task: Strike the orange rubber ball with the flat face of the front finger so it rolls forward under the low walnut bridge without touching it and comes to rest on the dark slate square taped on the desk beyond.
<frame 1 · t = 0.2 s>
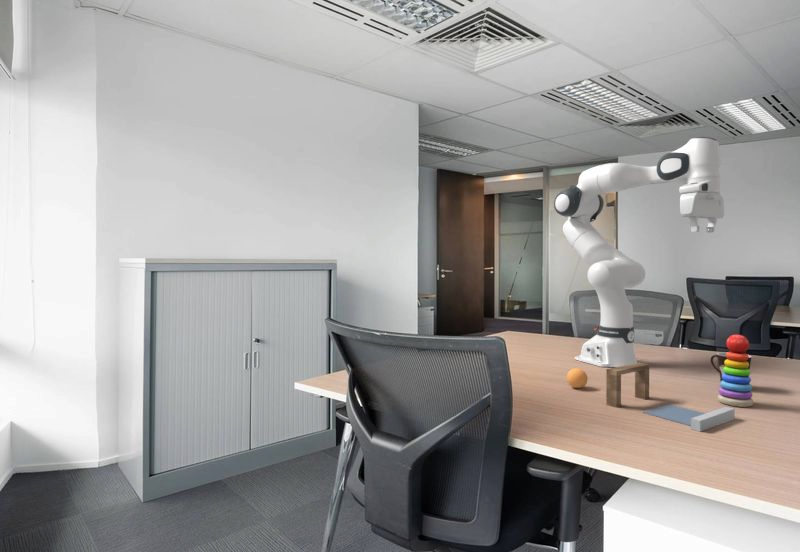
hand: (702, 232, 153), 48 cm above the table, tool pointing down, fingers open, 8 cm apart
coffee mug: (731, 387, 148), on the table
stopper wall: (713, 423, 115), on the table
stacking toy: (735, 404, 131), on the table
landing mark: (679, 414, 122), on the table
bridge: (628, 401, 134), on the table
ball: (577, 378, 148), on the table
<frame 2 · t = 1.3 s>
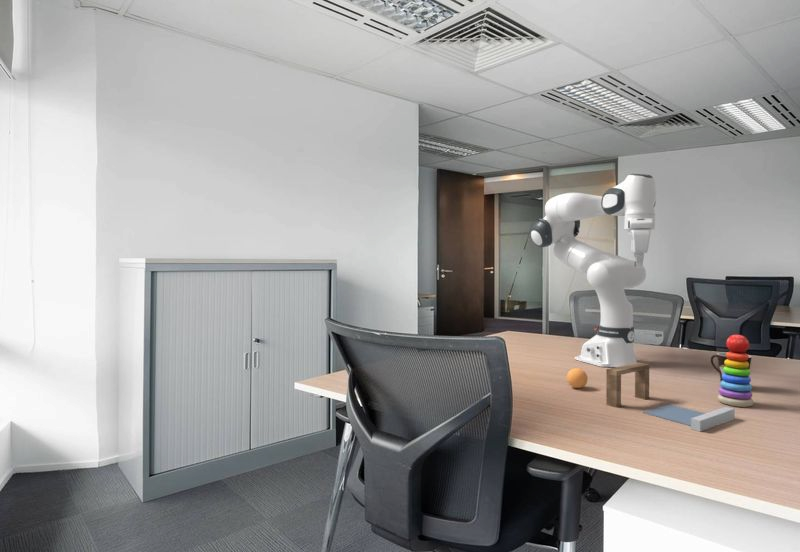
hand: (638, 267, 156), 37 cm above the table, tool pointing down, fingers open, 8 cm apart
nothing on the table moved.
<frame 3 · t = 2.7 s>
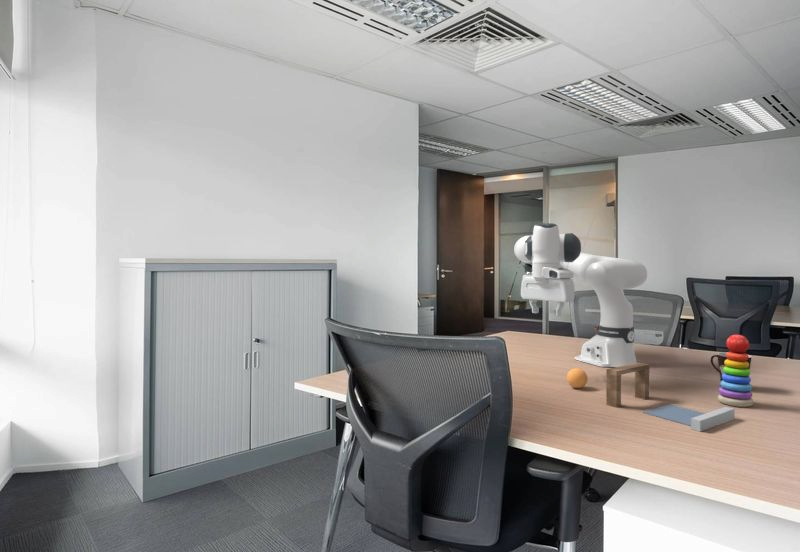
hand: (546, 314, 159), 22 cm above the table, tool pointing down, fingers open, 8 cm apart
nothing on the table moved.
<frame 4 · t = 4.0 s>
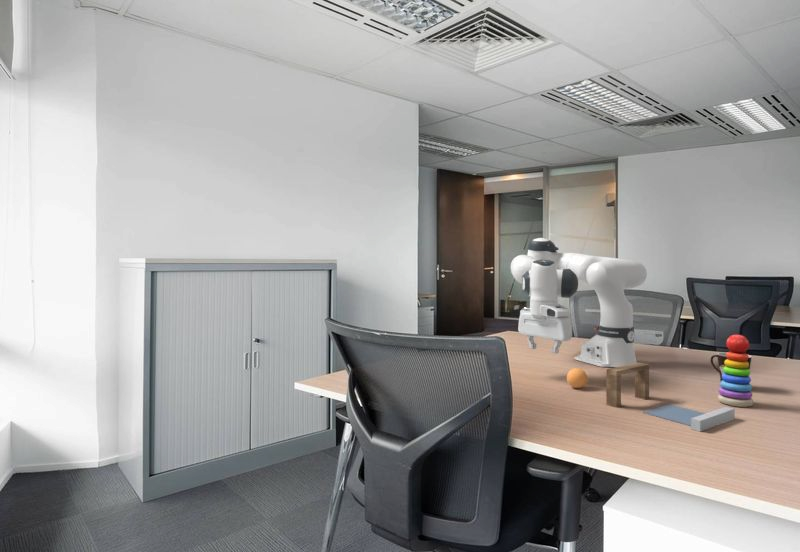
hand: (543, 350, 159), 9 cm above the table, tool pointing down, fingers open, 8 cm apart
nothing on the table moved.
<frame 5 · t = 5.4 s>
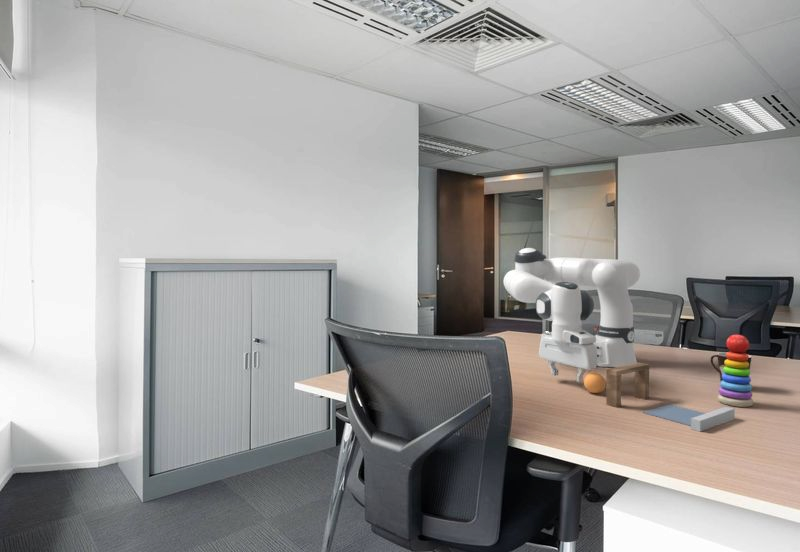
hand: (566, 378, 151), 2 cm above the table, tool pointing down, fingers open, 8 cm apart
ball: (594, 382, 143), on the table
everything else where it was.
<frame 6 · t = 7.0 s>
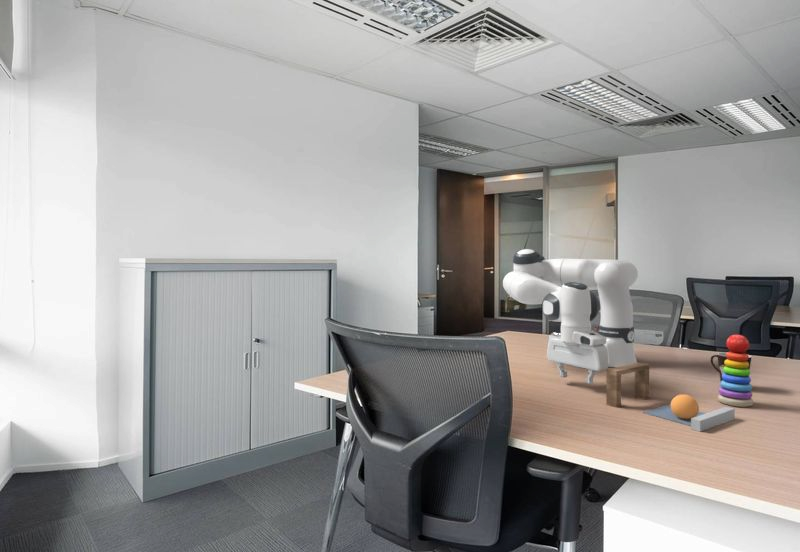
hand: (575, 380, 149), 2 cm above the table, tool pointing down, fingers open, 8 cm apart
ball: (684, 406, 119), on the table
everything else where it was.
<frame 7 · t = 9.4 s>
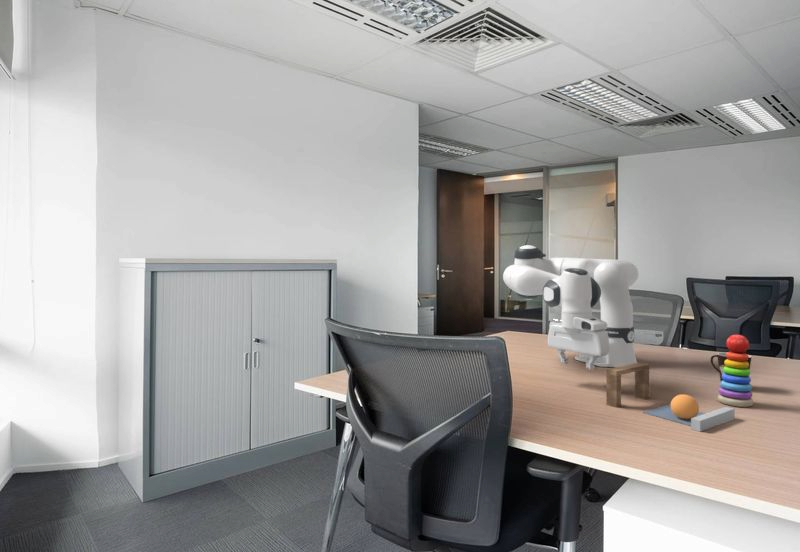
hand: (576, 366, 149), 7 cm above the table, tool pointing down, fingers open, 8 cm apart
nothing on the table moved.
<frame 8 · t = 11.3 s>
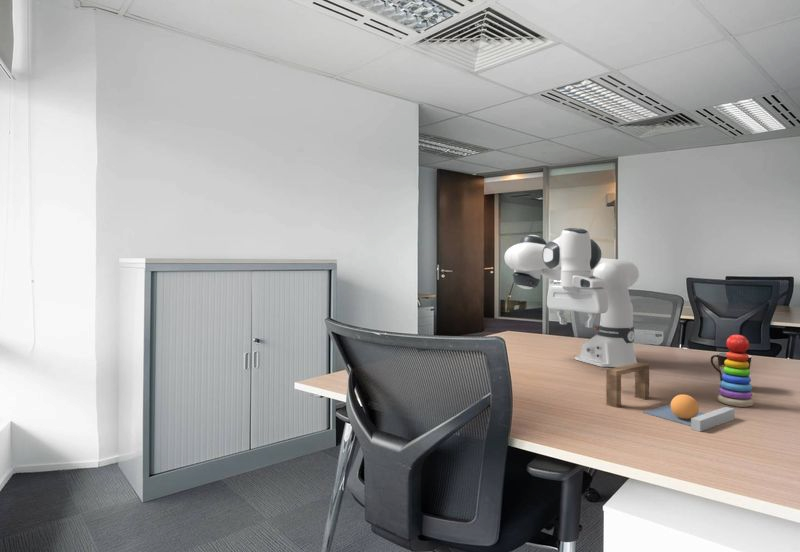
hand: (575, 325, 148), 19 cm above the table, tool pointing down, fingers open, 8 cm apart
nothing on the table moved.
at the end: ball 3.2 cm from the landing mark (horizontally); ball never touched bridge; ball at rest at the end (0.0 cm/s) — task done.
